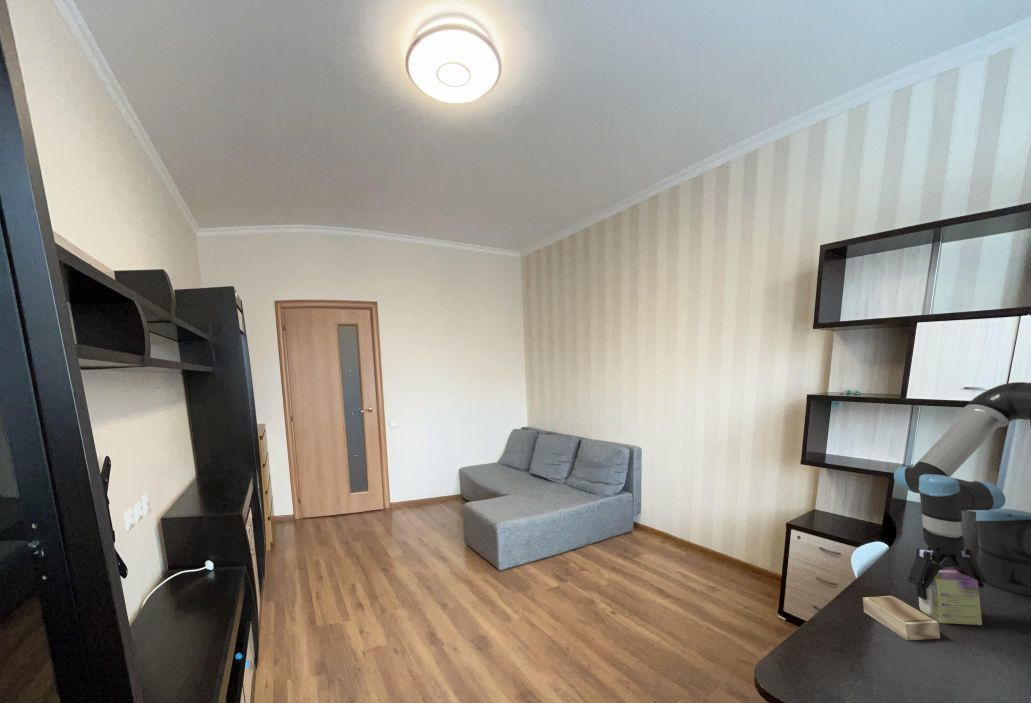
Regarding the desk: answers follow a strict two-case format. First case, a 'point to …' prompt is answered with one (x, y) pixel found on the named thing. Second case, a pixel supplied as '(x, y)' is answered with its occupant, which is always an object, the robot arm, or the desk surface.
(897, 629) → the wooden tray
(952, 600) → the box
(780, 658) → the desk surface
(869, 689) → the desk surface
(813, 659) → the desk surface
